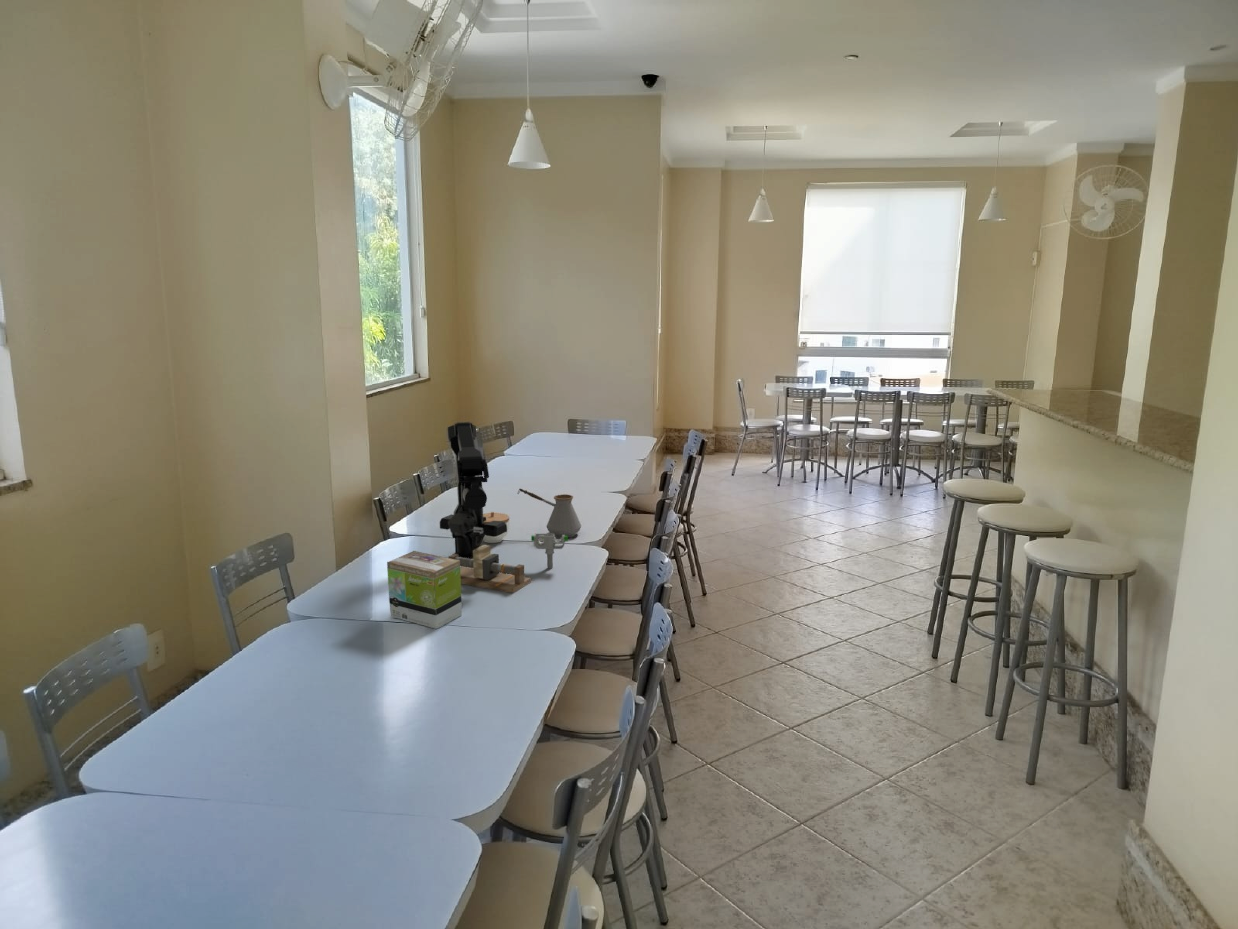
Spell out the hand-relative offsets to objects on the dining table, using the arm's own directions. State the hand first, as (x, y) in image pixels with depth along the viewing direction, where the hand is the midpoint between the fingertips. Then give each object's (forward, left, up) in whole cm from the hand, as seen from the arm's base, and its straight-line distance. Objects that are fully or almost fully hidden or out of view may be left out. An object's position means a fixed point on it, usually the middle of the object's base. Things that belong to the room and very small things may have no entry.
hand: (474, 555), depth 219 cm
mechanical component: (+14, +17, -7) cm, 23 cm away
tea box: (+4, -27, -7) cm, 28 cm away
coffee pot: (-3, +47, -7) cm, 48 cm away
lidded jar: (-16, +33, -7) cm, 37 cm away
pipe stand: (+4, 0, -7) cm, 8 cm away
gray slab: (+5, 0, -5) cm, 8 cm away
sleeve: (+3, 0, -5) cm, 6 cm away
